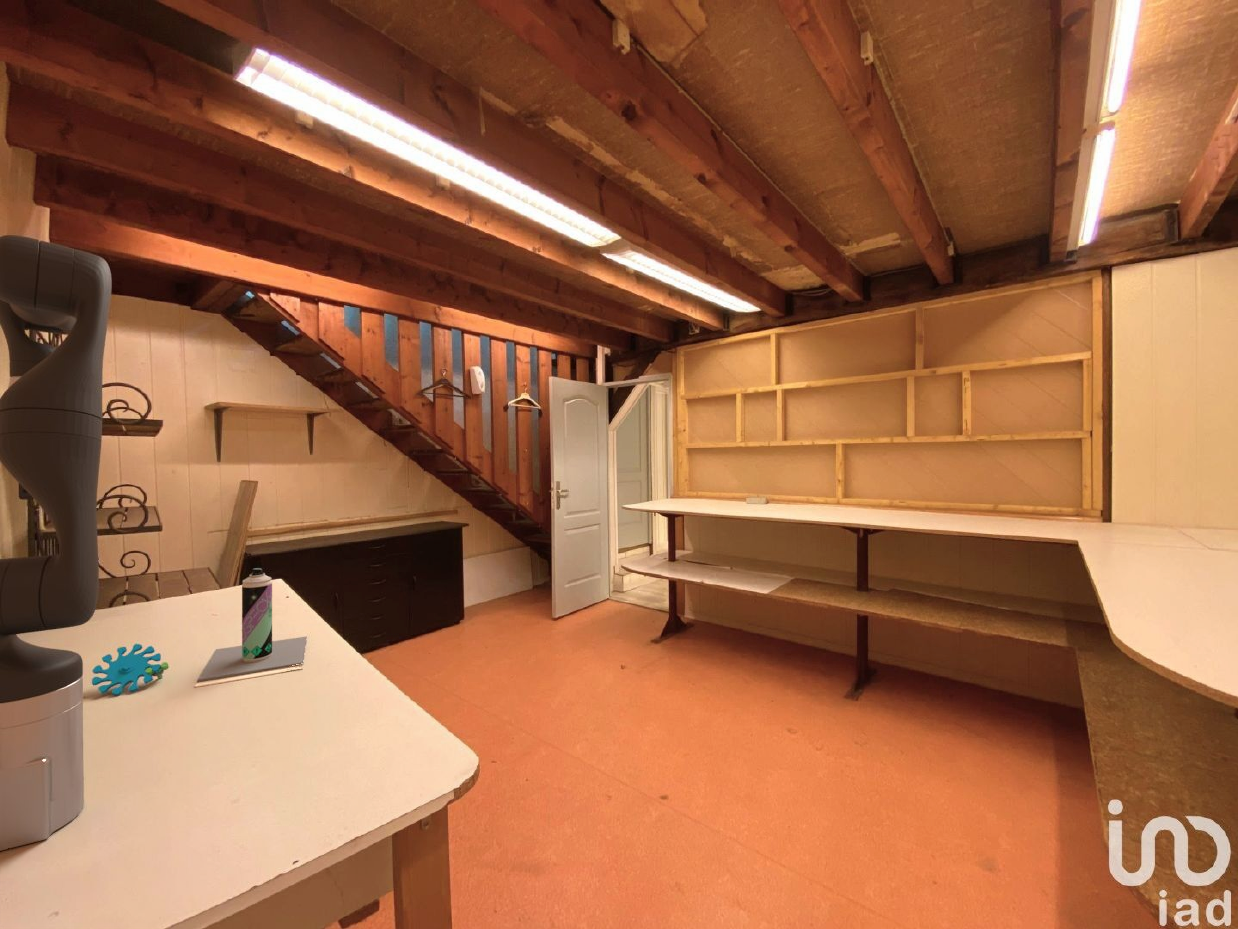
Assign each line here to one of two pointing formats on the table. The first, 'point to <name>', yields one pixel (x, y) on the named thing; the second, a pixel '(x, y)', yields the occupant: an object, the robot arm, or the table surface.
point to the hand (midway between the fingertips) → (41, 497)
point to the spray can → (256, 617)
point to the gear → (129, 669)
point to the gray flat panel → (231, 662)
